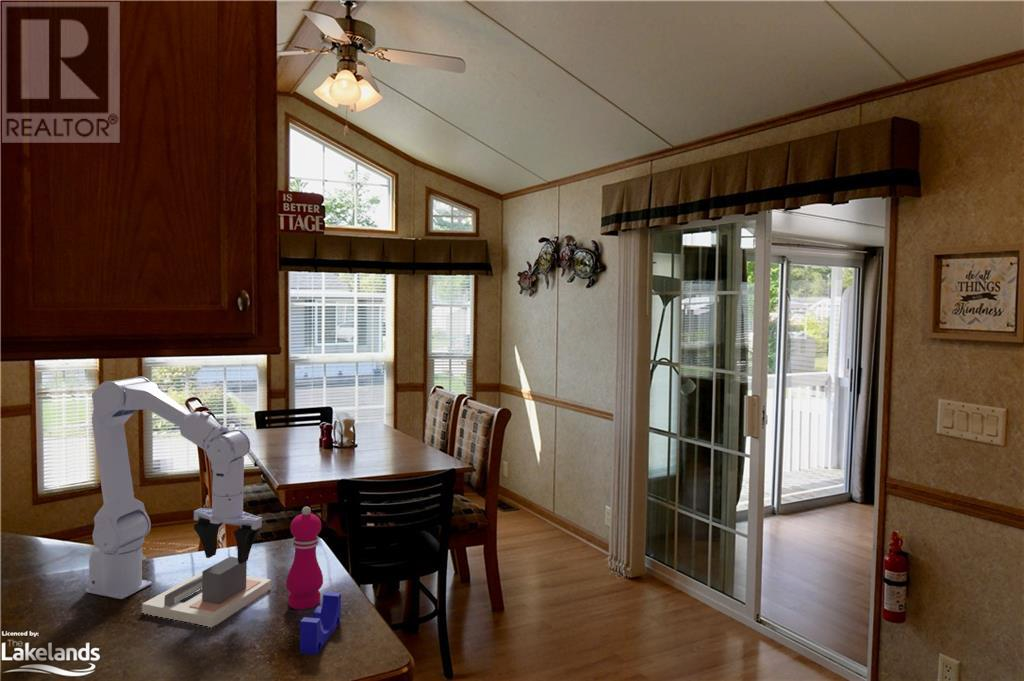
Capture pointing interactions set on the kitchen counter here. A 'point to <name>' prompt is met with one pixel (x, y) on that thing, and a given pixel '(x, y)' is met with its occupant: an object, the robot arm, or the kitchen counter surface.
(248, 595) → the cream flat slotted block
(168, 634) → the kitchen counter surface
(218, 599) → the gray block
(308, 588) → the pepper mill
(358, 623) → the kitchen counter surface
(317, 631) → the cable clip
